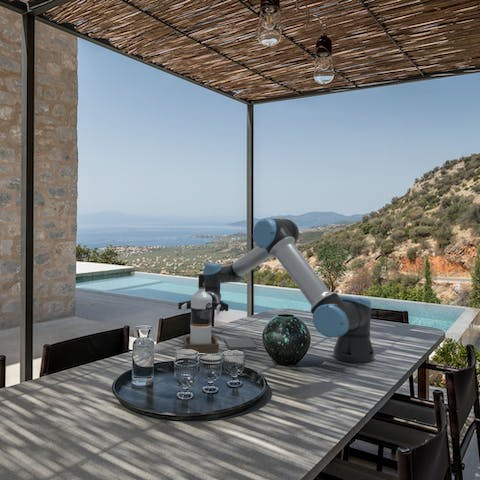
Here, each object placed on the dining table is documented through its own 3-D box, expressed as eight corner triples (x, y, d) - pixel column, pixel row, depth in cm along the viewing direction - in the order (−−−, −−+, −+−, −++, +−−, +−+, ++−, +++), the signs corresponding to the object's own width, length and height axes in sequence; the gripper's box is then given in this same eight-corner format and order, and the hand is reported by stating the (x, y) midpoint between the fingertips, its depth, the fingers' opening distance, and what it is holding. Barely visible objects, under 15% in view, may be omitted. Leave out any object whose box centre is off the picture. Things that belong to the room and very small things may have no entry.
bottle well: (218, 354, 176) (218, 344, 176) (185, 355, 174) (185, 345, 174) (214, 346, 188) (214, 336, 188) (183, 346, 186) (183, 337, 186)
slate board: (256, 349, 185) (256, 346, 185) (229, 349, 183) (229, 347, 183) (249, 340, 199) (249, 338, 199) (224, 341, 197) (224, 338, 197)
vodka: (202, 346, 188) (203, 272, 187) (217, 351, 181) (218, 274, 180) (183, 350, 181) (185, 273, 180) (198, 355, 175) (200, 276, 174)
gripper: (237, 311, 198) (232, 321, 176) (179, 309, 200) (167, 318, 179) (237, 293, 197) (232, 301, 176) (179, 291, 200) (168, 299, 178)
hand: (199, 310), depth 177 cm, fingers open, 13 cm apart
